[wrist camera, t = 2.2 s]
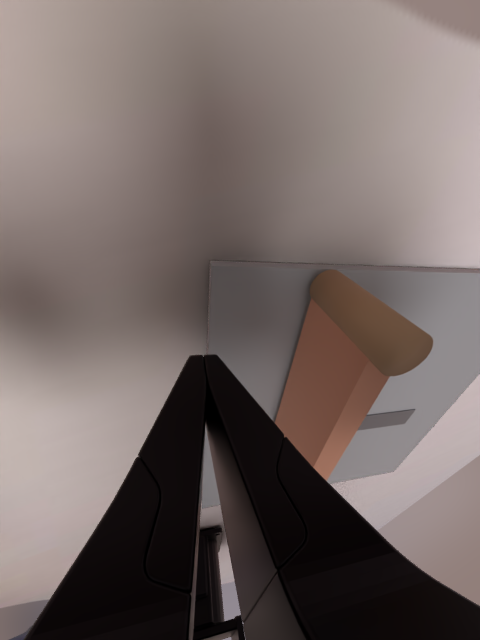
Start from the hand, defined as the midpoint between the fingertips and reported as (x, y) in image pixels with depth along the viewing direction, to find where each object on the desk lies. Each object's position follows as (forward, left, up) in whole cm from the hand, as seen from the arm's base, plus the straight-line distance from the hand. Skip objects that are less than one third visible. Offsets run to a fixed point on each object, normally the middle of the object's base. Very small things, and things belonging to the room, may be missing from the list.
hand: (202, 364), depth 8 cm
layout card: (-9, -11, -4) cm, 14 cm away
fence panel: (-4, -5, -3) cm, 7 cm away
